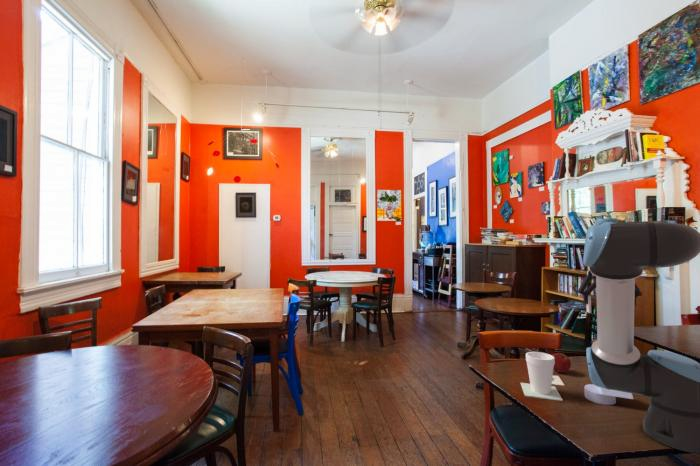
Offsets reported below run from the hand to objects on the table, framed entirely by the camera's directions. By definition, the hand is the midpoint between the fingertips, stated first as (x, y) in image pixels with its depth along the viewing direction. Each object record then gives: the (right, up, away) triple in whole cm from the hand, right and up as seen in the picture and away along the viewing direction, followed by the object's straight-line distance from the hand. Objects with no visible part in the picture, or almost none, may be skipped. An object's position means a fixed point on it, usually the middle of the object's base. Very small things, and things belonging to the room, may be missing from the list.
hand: (609, 313), depth 131 cm
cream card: (-19, -29, +8) cm, 36 cm away
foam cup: (-29, -28, -4) cm, 40 cm away
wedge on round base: (-9, -29, -10) cm, 32 cm away
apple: (-9, -29, +16) cm, 35 cm away
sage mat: (-29, -29, -4) cm, 41 cm away
